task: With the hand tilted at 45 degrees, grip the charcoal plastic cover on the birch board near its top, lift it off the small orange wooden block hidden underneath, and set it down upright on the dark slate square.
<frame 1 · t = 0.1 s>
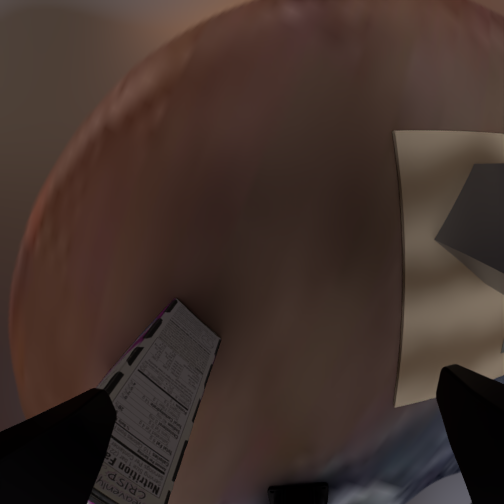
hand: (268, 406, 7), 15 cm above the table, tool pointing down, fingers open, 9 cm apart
candy bar box: (161, 357, 24), on the table
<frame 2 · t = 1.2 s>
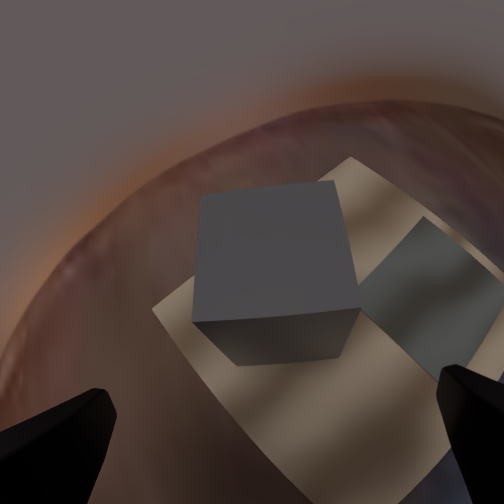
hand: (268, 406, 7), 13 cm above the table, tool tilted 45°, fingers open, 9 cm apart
charcoal cover: (279, 287, 17), on the birch board
birch board: (366, 318, 21), on the table
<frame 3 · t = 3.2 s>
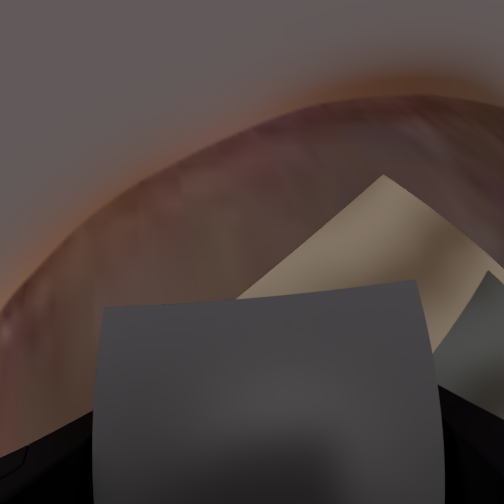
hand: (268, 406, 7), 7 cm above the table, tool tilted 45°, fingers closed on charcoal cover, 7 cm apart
charcoal cover: (277, 452, 8), on the birch board, touching gripper
birch board: (406, 439, 11), on the table
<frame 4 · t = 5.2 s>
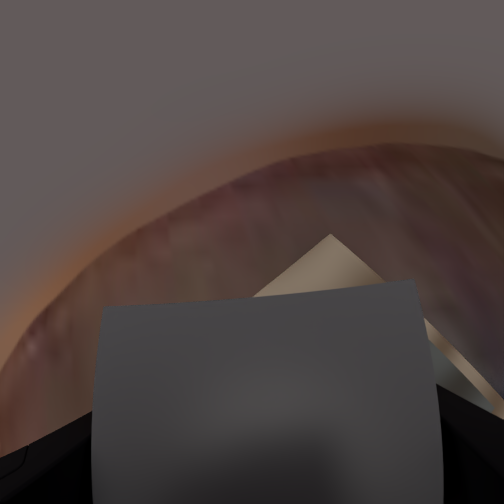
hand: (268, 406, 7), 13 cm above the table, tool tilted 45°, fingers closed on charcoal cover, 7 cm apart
charcoal cover: (276, 451, 8), point 11 cm above the table, touching gripper
birch board: (321, 443, 17), on the table
when the fingers open (8 cm above the table, at t = 7.5 s): charcoal cover drops 1 cm, resting on birch board.
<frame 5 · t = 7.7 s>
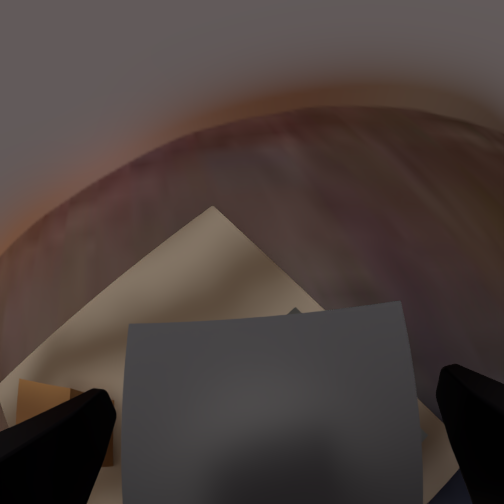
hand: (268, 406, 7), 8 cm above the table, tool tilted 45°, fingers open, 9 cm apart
orange block: (64, 425, 13), on the birch board
charcoal cover: (280, 448, 9), on the birch board, point 5 cm above the table
birch board: (175, 453, 14), on the table
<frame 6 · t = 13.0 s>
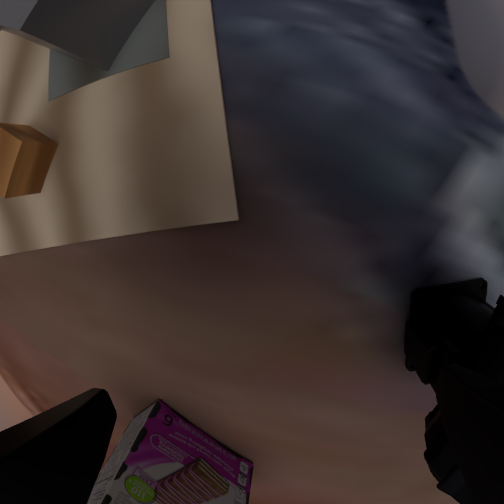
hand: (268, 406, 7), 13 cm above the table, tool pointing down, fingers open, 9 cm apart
candy bar box: (193, 441, 25), on the table
orange block: (16, 158, 17), on the birch board
birch board: (72, 93, 18), on the table
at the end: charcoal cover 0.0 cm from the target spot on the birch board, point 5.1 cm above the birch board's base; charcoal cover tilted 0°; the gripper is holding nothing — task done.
